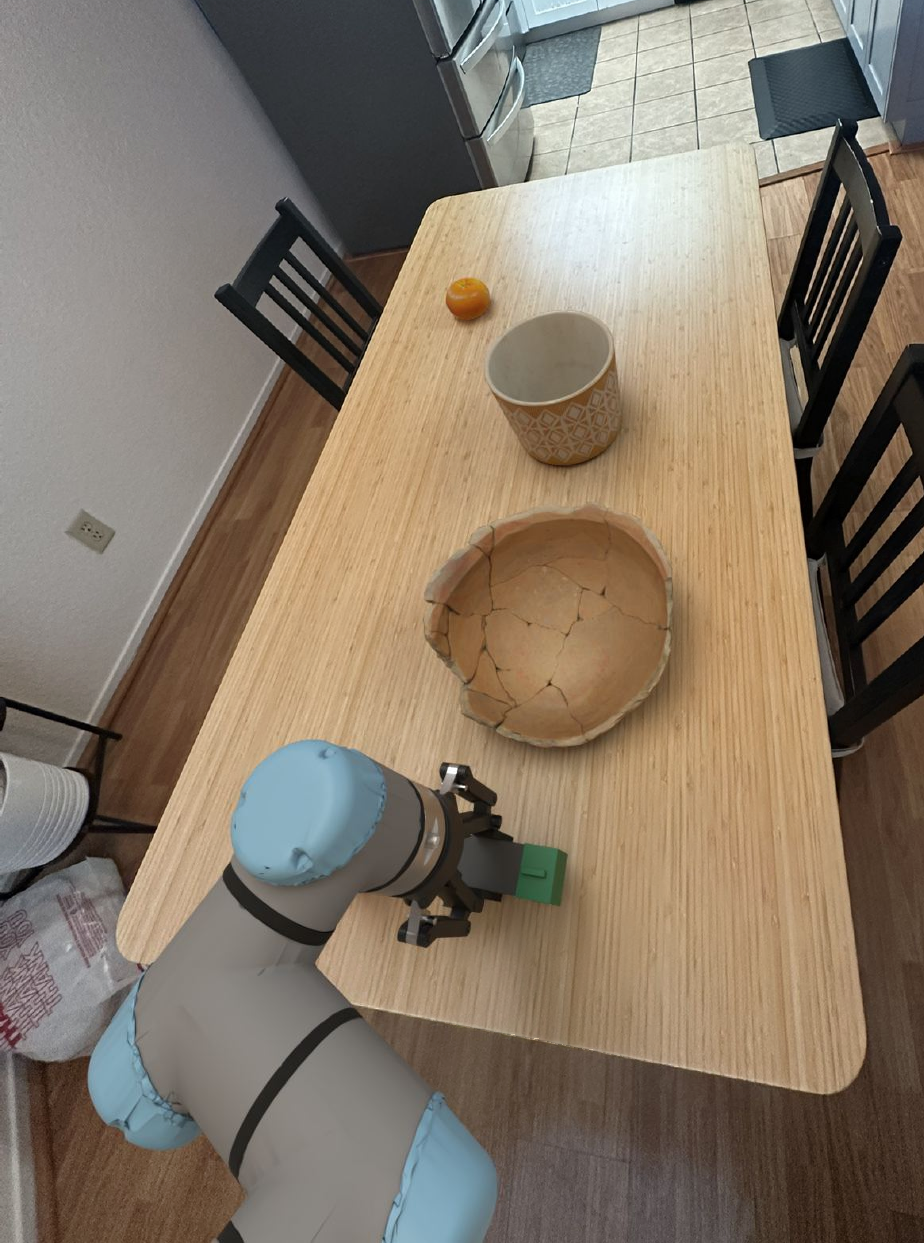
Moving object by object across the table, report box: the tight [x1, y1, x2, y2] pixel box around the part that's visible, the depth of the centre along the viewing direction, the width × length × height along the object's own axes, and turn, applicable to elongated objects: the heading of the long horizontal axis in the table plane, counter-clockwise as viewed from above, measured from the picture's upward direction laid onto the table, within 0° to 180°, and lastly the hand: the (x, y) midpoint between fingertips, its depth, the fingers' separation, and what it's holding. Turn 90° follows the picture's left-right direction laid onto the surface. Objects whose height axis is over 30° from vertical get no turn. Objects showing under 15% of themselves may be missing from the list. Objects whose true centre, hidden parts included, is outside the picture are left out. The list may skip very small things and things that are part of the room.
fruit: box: [445, 277, 491, 321], centre depth 126 cm, size 8×8×8 cm
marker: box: [457, 834, 569, 907], centre depth 65 cm, size 15×5×5 cm, turn 80°
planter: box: [483, 309, 623, 466], centre depth 99 cm, size 19×19×16 cm
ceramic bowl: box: [422, 501, 675, 749], centre depth 79 cm, size 30×27×15 cm
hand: (495, 866), depth 66 cm, fingers closed on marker, 4 cm apart
